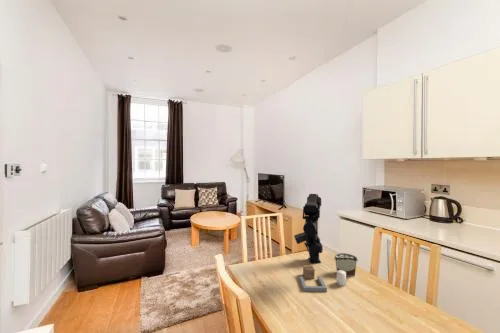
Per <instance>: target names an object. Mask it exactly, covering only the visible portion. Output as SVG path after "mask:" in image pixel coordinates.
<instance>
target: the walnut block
mask: <svg viewBox="0 0 500 333" xmlns="http://www.w3.org/2000/svg"><path fill="white" fill-rule="evenodd" d="M302 276H303V279H304V280H314V279H315V268H314V267H313V265H305V264H304V265H302Z"/></svg>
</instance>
